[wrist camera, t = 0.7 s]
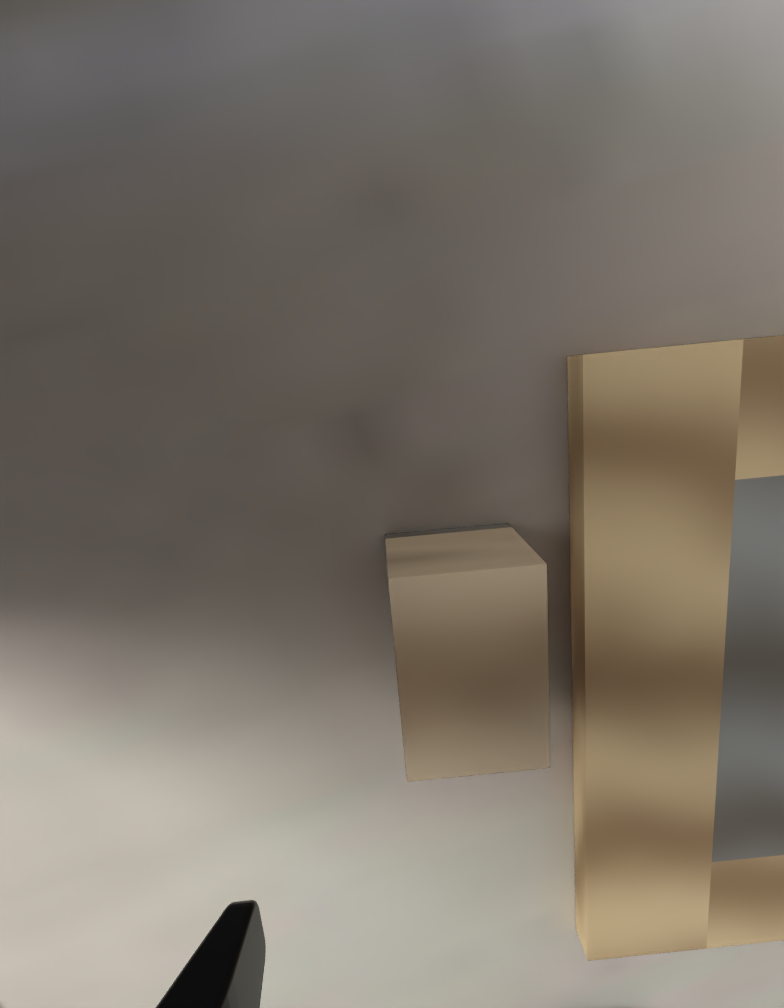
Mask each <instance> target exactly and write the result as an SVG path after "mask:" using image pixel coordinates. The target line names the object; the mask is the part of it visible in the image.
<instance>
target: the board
mask: <svg viewBox="0 0 784 1008" xmlns="http://www.w3.org/2000/svg"><path fill="white" fill-rule="evenodd" d="M567 364H568V432H569V501H570V569H571V637H572V706H573V774H574V842H575V911H576V930H577V933H578V936H579V938H580V941H581V944H582V947H583V949H584V952H585V955H586V958H587V960H588V961H590V960H600V959H609V958H619V957H628V956H638V955H647V954H657V953H666V952H676V951H685V950H695V949H704V948H714V947H723V946H733V945H743V944H752V943H762V942H771V941H781V940H784V335H780V336H770V337H760V338H749V339H739V340H729V341H718V342H708V343H698V344H687V345H677V346H666V347H656V348H646V349H635V350H625V351H615V352H604V353H594V354H584V355H575V356H567Z"/></svg>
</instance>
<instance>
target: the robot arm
mask: <svg viewBox="0 0 784 1008" xmlns="http://www.w3.org/2000/svg"><path fill="white" fill-rule="evenodd" d="M264 964H265V937H264V932H263V927H262V921H261V916H260V911H259V906H258V904H257V902H256V901H254V900H249V901H239V902H233V903H231V904H230V905H228V906H227V907H226V909H225V910H224V912H223V913H222V914H221V916H220V917H219V919H218V920H217V922H216V923H215V924H214V926H213V927H212V929H211V930H210V931H209V933H208V934H207V936H206V937H205V939H204V940H203V941H202V943H201V944H200V946H199V947H198V949H197V950H196V951H195V953H194V954H193V956H192V957H191V958H190V960H189V961H188V963H187V964H186V966H185V967H184V968H183V970H182V971H181V973H180V974H179V976H178V977H177V978H176V980H175V981H174V983H173V984H172V985H171V987H170V988H169V990H168V991H167V993H166V994H165V995H164V997H163V998H162V1000H161V1001H160V1003H159V1004H158V1005H157V1007H156V1008H259V1007H260V999H261V990H262V981H263V973H264Z"/></svg>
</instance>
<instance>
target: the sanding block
mask: <svg viewBox="0 0 784 1008" xmlns="http://www.w3.org/2000/svg"><path fill="white" fill-rule="evenodd" d="M385 543H386V558H387V573H388V586H389V596H390V607H391V618H392V628H393V639H394V650H395V660H396V671H397V682H398V692H399V703H400V714H401V724H402V735H403V746H404V756H405V767H406V778H407V782H410V781H421V780H431V779H441V778H451V777H462V776H472V775H482V774H492V773H503V772H513V771H523V770H533V769H544V768H550V717H549V661H548V606H547V564H546V563H545V562H544V561H543V559H542V558H541V557H540V556H539V555H538V554H537V553H536V552H535V551H534V550H533V549H532V548H531V547H530V546H529V545H528V544H527V542H526V541H525V540H524V539H523V538H522V537H521V536H520V535H519V534H518V533H517V532H516V531H515V530H514V529H513V528H512V526H511V525H510V524H509V523H504V524H493V525H482V526H471V527H461V528H450V529H439V530H428V531H417V532H406V533H395V534H385Z"/></svg>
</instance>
